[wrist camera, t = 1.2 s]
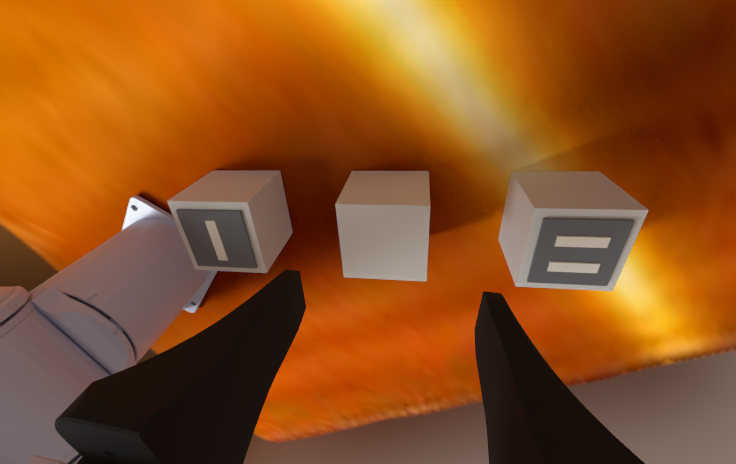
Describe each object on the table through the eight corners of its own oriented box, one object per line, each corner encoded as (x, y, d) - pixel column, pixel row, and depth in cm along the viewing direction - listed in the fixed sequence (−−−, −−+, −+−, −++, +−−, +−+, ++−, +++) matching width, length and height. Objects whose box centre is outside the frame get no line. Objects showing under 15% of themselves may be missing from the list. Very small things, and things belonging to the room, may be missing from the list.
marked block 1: (232, 230, 26) (192, 272, 21) (213, 170, 23) (163, 203, 18) (293, 232, 25) (264, 276, 20) (280, 170, 22) (245, 204, 18)
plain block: (357, 234, 24) (343, 277, 20) (352, 170, 21) (335, 204, 17) (425, 236, 23) (426, 281, 19) (428, 170, 21) (430, 205, 17)
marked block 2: (498, 238, 23) (517, 290, 18) (510, 170, 20) (536, 211, 16) (575, 241, 22) (615, 294, 17) (599, 170, 19) (652, 213, 15)
